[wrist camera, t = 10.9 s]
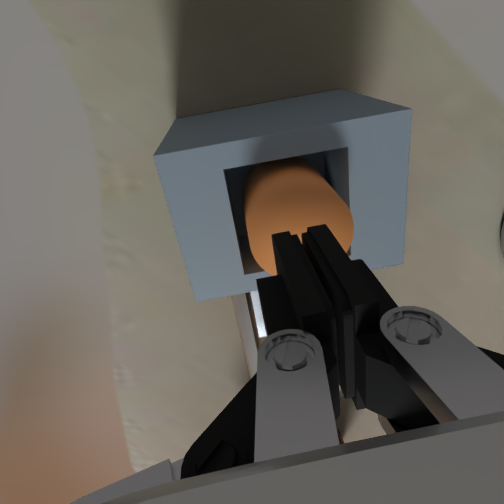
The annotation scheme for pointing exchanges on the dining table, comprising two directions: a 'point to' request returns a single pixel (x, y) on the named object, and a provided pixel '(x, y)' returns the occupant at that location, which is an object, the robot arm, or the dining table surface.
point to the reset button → (290, 206)
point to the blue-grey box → (279, 147)
